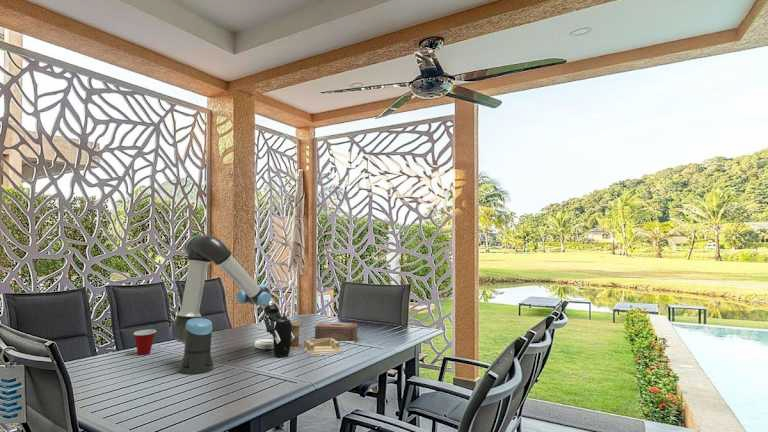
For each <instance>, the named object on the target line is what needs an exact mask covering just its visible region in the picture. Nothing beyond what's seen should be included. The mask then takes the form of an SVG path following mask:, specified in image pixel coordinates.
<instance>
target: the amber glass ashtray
mask: <svg viewBox="0 0 768 432" xmlns="http://www.w3.org/2000/svg"><path fill="white" fill-rule="evenodd" d="M340 345H341V342H338V341H336V340H334V339H333V338H322V339H315V338H310V339H304V341H303V346H302V348H303V349H304V350H305V351H306V352H308V353H309V354H310V355H319V354H332V353H340V352H343V353H344V350H342V349H341V348H340ZM302 348H301V349H302ZM304 350H303V351H304ZM305 351H304V352H305ZM306 352H305V353H306Z"/></svg>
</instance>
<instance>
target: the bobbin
mask: <svg viewBox="0 0 768 432" xmlns="http://www.w3.org/2000/svg"><path fill="white" fill-rule="evenodd" d="M291 324H292V325H293V327H292V328H291V330H292V332H293V336H294V339H293V340H292V341H291V346H290V348H291V349H295V348H300V347H303V346H302V344H299V343H300V327H303V326H304V325H303V322H300V321H299V322H298V321H291ZM291 349H290V350H291Z"/></svg>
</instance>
